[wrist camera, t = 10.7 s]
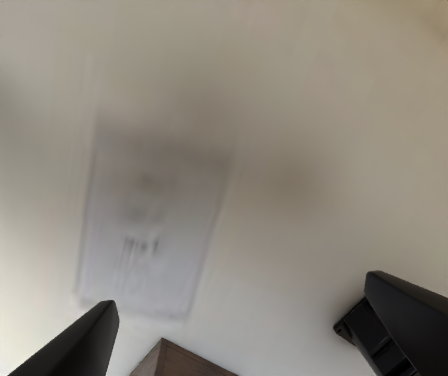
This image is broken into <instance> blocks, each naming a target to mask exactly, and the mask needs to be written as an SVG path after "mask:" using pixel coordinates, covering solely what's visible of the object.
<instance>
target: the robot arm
mask: <svg viewBox="0 0 448 376" xmlns="http://www.w3.org/2000/svg"><path fill="white" fill-rule="evenodd" d="M364 292H365V297H364V298H363V299H362V300H361V301H360V302H359V303H358V304H357V305H356V306H355V307H354V308H353V309H352V310H351V311H350V312H349V313H348V314H346V315H345V316H344V317H343V318H342V319H341V320H340V321H339V322H338V323H337V324H336V325H335V326H334V328H333V329H334V331H335V332H336V334H338V335H339V336H341V337H343V338H344V339H346V340H347V341H349V342H350V343H352V344H353V345H355V346H356V347H357V348H358V349H359V351H360V352H361V354H362V355H363V356H364V358H365V359H366V361H367V362H368V364H369V365H370V366H371V368H372V369H373V371H374V372H375V374H376V375H377V376H448V298H447V297H444V296H442V295H439V294H437V293H434V292H432V291H429V290H427V289H424V288H422V287H419V286H417V285H414V284H412V283H409V282H407V281H405V280H402V279H400V278H397V277H395V276H392V275H390V274H387V273H385V272H382V271H369V272H368V273H367V274H366V281H365V288H364ZM118 328H119V316H118V311H117V307H116V303H115V301H114V300H107V301H101V302H99V303H98V304H97V305H96V306H94V307H93V308H92V309H90V310H89V311H88V312H87V313H85V314H84V315H83V316H82V317H80V318H79V319H78V320H77V321H75V322H74V323H73V324H72V325H70V326H69V327H68V328H67V329H65V330H64V331H63V332H62V333H60V334H59V335H58V336H57V337H55V338H54V339H53V340H51V341H50V342H49V343H48V344H46V345H45V346H44V347H43V348H41V349H40V350H39V351H38V352H36V353H35V354H34V355H33V356H31V357H30V358H29V359H28V360H26V361H25V362H24V363H23V364H21V365H20V366H19V367H17V368H16V369H15V370H14V371H12V372H11V373H10V374H9V375H7V376H105V375H106V372H107V368H108V365H109V361H110V357H111V354H112V350H113V346H114V343H115V339H116V335H117V332H118Z"/></svg>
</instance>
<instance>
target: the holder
mask: <svg viewBox="0 0 448 376" xmlns="http://www.w3.org/2000/svg"><path fill="white" fill-rule="evenodd" d="M130 376H236V375H234V374H232V373H230V372H228V371H226V370H224V369H222V368H221V367H219V366H217V365H215V364H213V363H211V362H209V361H207V360H205V359H203V358H201V357H199V356H197V355H195V354H193V353H191V352H189V351H187V350H185V349H183V348H181V347H179V346H177V345H175V344H173V343H171V342H169V341H167V340H165V339H163V338H162V339H161V340H160V341H159V342H158V343H157V344H156V346H155V347H154V348H153V349H152V350H151V351H150V353H149V354H148V355H147V356H146V357H145V358H144V359H143V361H142V362H141V363H140V364H139V365H138V366H137V368H136V369H135V370H134V371H133V372H132V373H131V374H130Z"/></svg>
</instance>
